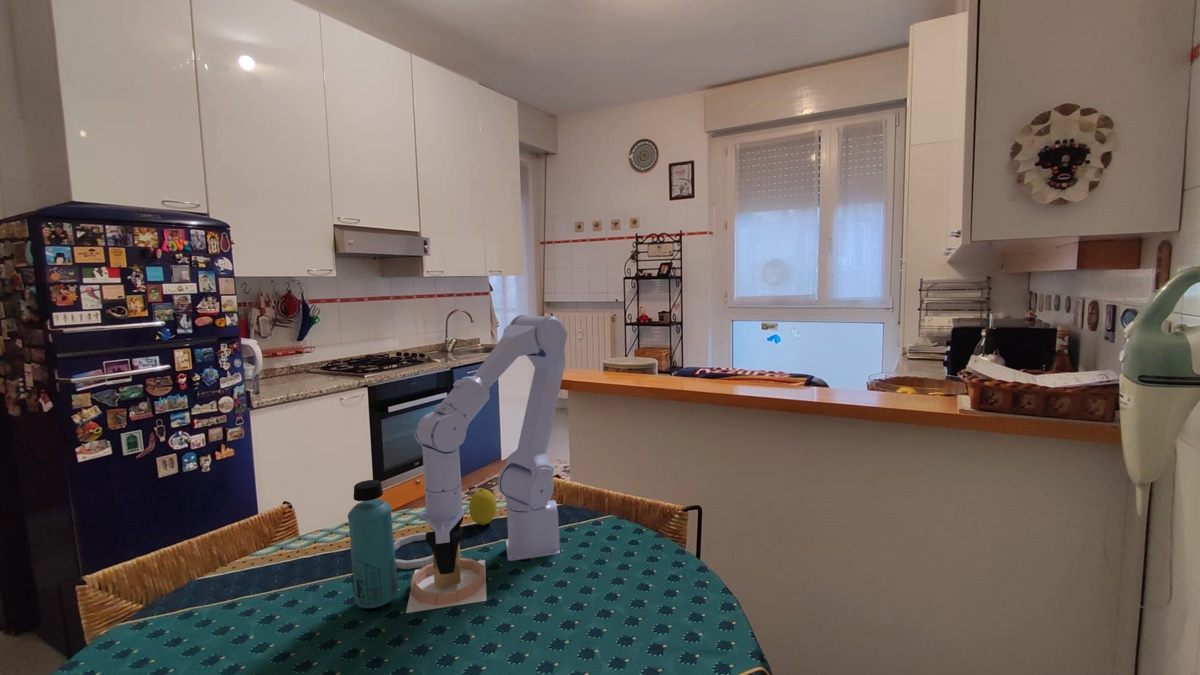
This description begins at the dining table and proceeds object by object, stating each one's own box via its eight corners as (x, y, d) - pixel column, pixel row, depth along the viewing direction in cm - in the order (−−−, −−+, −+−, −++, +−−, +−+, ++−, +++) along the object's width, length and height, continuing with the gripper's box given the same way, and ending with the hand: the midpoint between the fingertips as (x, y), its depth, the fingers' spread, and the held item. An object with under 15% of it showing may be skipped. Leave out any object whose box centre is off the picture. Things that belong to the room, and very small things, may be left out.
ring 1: (452, 536, 107) (451, 529, 107) (449, 565, 96) (449, 557, 96) (390, 544, 105) (390, 536, 105) (380, 574, 94) (380, 566, 93)
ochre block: (460, 570, 91) (458, 531, 91) (460, 583, 88) (457, 541, 87) (436, 574, 91) (434, 534, 90) (434, 586, 87) (432, 545, 86)
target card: (485, 562, 97) (485, 559, 97) (486, 602, 84) (486, 600, 84) (415, 571, 94) (415, 569, 94) (406, 615, 82) (405, 612, 82)
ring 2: (484, 562, 96) (483, 554, 96) (485, 598, 85) (484, 588, 85) (415, 571, 93) (415, 563, 93) (407, 609, 82) (407, 600, 82)
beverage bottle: (408, 597, 86) (400, 476, 84) (378, 622, 80) (369, 492, 78) (375, 591, 88) (366, 473, 86) (344, 614, 82) (334, 488, 80)
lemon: (500, 520, 114) (498, 483, 114) (492, 532, 109) (490, 493, 108) (475, 519, 115) (473, 483, 114) (466, 531, 109) (464, 493, 109)
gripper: (421, 473, 94) (426, 548, 95) (412, 506, 80) (417, 593, 81) (463, 469, 95) (467, 543, 97) (461, 500, 81) (466, 586, 82)
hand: (447, 565), depth 89 cm, fingers closed on ochre block, 4 cm apart
